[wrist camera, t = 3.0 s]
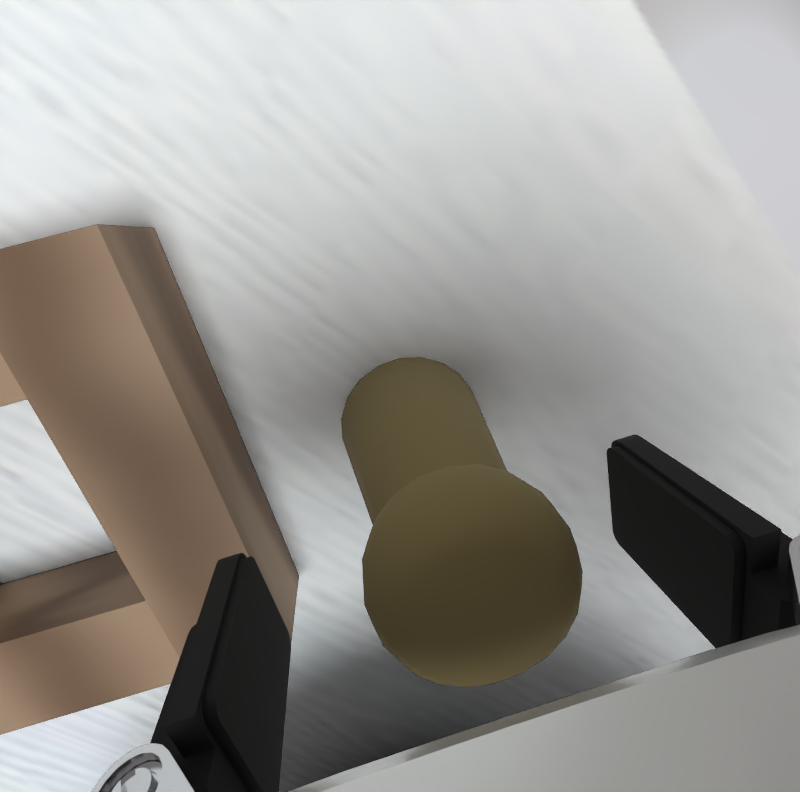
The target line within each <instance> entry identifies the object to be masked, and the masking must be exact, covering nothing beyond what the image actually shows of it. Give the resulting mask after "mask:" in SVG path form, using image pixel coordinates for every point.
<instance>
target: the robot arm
mask: <svg viewBox="0 0 800 792" xmlns="http://www.w3.org/2000/svg"><path fill="white" fill-rule="evenodd" d="M607 462H608V475H609V488H610V501H611V513H612V526H613V533H614V536H615V538H616V540H617V542H618V543H619V545H620V546H621V547H622V548H623V549H624V550H625V551H626V552H627V553H628V554H629V555H630V556H631V558H632V559H633V560H634V561H635V562H636V563H637V564H638V565H639V566H640V567H641V568H642V569H643V570H644V572H645V573H646V574H647V575H648V576H649V577H650V578H651V579H652V580H653V581H654V582H655V583H656V584H657V586H658V587H659V588H660V589H661V590H662V591H663V592H664V593H665V594H666V595H667V596H668V597H669V598H670V600H671V601H672V602H673V603H674V604H675V605H676V606H677V607H678V608H679V609H680V610H681V611H682V612H683V614H684V615H685V616H686V617H687V618H688V619H689V620H690V621H691V622H692V623H693V624H694V625H695V626H696V627H697V629H698V630H699V631H700V632H701V633H702V634H703V635H704V636H705V637H706V638H707V639H708V640H709V641H710V643H711V644H712V645H713V646H714V647H715V648H716V649H713V650H709V651H706V652H703V653H700V654H696V655H693V656H690V657H687V658H684V659H681V660H678V661H675V662H672V663H669V664H666V665H662V666H659V667H656V668H653V669H650V670H647V671H644V672H641V673H638V674H635V675H632V676H629V677H625V678H622V679H619V680H616V681H613V682H610V683H607V684H604V685H601V686H598V687H595V688H592V689H589V690H585V691H582V692H579V693H576V694H573V695H570V696H567V697H564V698H561V699H558V700H555V701H552V702H549V703H546V704H543V705H540V706H537V707H534V708H531V709H528V710H525V711H522V712H519V713H516V714H513V715H510V716H507V717H504V718H501V719H498V720H495V721H492V722H489V723H486V724H483V725H480V726H477V727H474V728H471V729H468V730H465V731H462V732H459V733H456V734H453V735H450V736H447V737H444V738H441V739H438V740H435V741H432V742H429V743H426V744H423V745H420V746H417V747H414V748H411V749H408V750H405V751H402V752H399V753H396V754H393V755H391V756H388V757H385V758H382V759H379V760H376V761H373V762H370V763H367V764H364V765H361V766H358V767H355V768H352V769H349V770H346V771H343V772H340V773H338V774H335V775H332V776H329V777H327V778H324V779H321V780H318V781H315V782H313V783H310V784H307V785H304V786H301V787H299V788H296V789H293V790H290V791H287V792H800V536H797V537H795V538H794V539H791V538H790V537H788V536H787V535H785V534H784V533H782V532H781V529H780V528H778V527H777V526H775V525H774V524H772V523H771V522H769V521H768V520H766V519H765V518H763V517H762V516H760V515H759V514H757V513H755V512H754V511H752V510H751V509H749V508H748V507H746V506H745V505H743V504H742V503H740V502H739V501H737V500H736V499H734V498H733V497H731V496H730V495H728V494H727V493H725V492H724V491H722V490H721V489H719V488H718V487H716V486H715V485H713V484H711V483H710V482H708V481H707V480H705V479H704V478H702V477H701V476H699V475H698V474H696V473H695V472H693V471H692V470H690V469H689V468H687V467H686V466H684V465H683V464H681V463H680V462H678V461H677V460H675V459H674V458H672V457H670V456H669V455H667V454H666V453H664V452H663V451H661V450H660V449H658V448H657V447H655V446H654V445H652V444H651V443H649V442H648V441H646V440H645V439H643V438H642V437H640V436H638V435H632V436H628V437H625V438H622V439H618V440H615V441H613V442H612V447H611V448H609V449H608V450H607ZM290 653H291V640H290V635H289V632H288V630H287V627H286V625H285V623H284V621H283V619H282V617H281V615H280V612H279V610H278V608H277V606H276V604H275V602H274V600H273V597H272V595H271V593H270V591H269V589H268V587H267V585H266V582H265V580H264V578H263V576H262V574H261V572H260V570H259V567H258V565H257V563H256V561H255V559H254V558H253V557H252V556H249V557H246V555H245V554H244V553H239V554H235V555H232V556H229V557H225V558H222V559H219V560H218V562H217V564H216V567H215V570H214V573H213V576H212V579H211V582H210V585H209V588H208V591H207V594H206V597H205V600H204V603H203V606H202V609H201V612H200V615H199V618H198V621H197V624H196V625H194V626H193V627H192V628H191V629H190V631H189V633H188V636H187V639H186V641H185V644H184V647H183V650H182V653H181V656H180V659H179V662H178V665H177V668H176V670H175V673H174V676H173V679H172V682H171V685H170V688H169V691H168V694H167V696H166V699H165V702H164V705H163V708H162V711H161V714H160V717H159V720H158V723H157V725H156V728H155V731H154V734H153V737H152V740H151V743H150V744H146V745H142V746H139V747H138V748H136V749H134V750H132V751H130V752H128V753H127V754H125V755H124V756H123V757H122V758H120V759H119V760H118V761H116V762H115V763H114V764H113V765H112V766H111V767H110V768H109V769H108V770H107V771H106V773H105V774H104V775H103V776H102V777H101V778H100V780H99V781H98V783H97V784H96V785H95V787H94V788H93V790H92V791H91V792H278V791H279V779H280V768H281V756H282V745H283V733H284V722H285V711H286V699H287V688H288V676H289V665H290Z"/></svg>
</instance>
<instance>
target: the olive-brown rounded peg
mask: <svg viewBox="0 0 800 792" xmlns="http://www.w3.org/2000/svg"><path fill="white" fill-rule="evenodd" d="M341 421H342V438H343V442H344V444H345V447H346V450H347V453H348V456H349V459H350V461H351V464H352V467H353V470H354V473H355V476H356V478H357V481H358V484H359V487H360V490H361V493H362V495H363V498H364V501H365V504H366V507H367V510H368V512H369V515H370V518H371V521H372V524H373V527H372V530H371V533H370V536H369V539H368V542H367V545H366V548H365V552H364V555H363V558H362V565H363V584H364V603H365V607H366V609H367V612H368V614H369V617H370V619H371V621H372V623H373V626H374V628H375V630H376V632H377V634H378V636H379V638H380V640H381V642H382V644H383V646H384V647H385V648H386V649H387V650H388V651H389V652H391V653H392V654H393V655H394V656H395V657H396V658H397V659H398V660H399V661H400V662H401V663H403V664H404V665H405V666H406V667H407V668H408V669H409V670H410V671H411V672H413V673H414V674H415V675H417V676H420V677H422V678H425V679H427V680H430V681H432V682H434V683H437V684H441V685H450V686H459V687H472V686H479V685H486V684H494V683H497V682H500V681H502V680H505V679H508V678H510V677H513V676H516V675H518V674H521V673H523V672H525V671H526V670H528V669H529V668H531V667H532V666H534V665H535V664H537V663H538V662H540V661H541V660H543V659H544V658H546V657H547V656H548V655H549V654H550V653H551V652H552V651H553V650H554V649H555V648H556V647H557V645H558V644H559V643H560V642H561V641H562V640H563V639H564V638H565V637H566V635H567V633H568V631H569V629H570V627H571V625H572V623H573V622H574V620H575V618H576V616H577V614H578V608H579V601H580V595H581V587H582V567H581V563H580V559H579V555H578V550H577V546H576V543H575V541H574V538H573V535H572V533H571V530H570V528H569V526H568V525H567V524H566V522H565V521H564V520H563V518H562V517H561V516H560V514H559V513H558V512H557V510H556V509H555V508H554V506H553V505H552V504H551V503H550V501H549V500H548V499H547V498H546V497H545V495H544V494H543V493H542V492H540V491H539V490H537V489H536V488H534V487H532V486H531V485H529V484H527V483H526V482H524V481H523V480H521V479H519V478H518V477H516V476H514V475H513V474H511V473H509V472H508V471H507V470H506V467H505V465H504V463H503V460H502V458H501V456H500V454H499V451H498V449H497V447H496V445H495V442H494V440H493V438H492V435H491V433H490V431H489V429H488V426H487V424H486V422H485V420H484V417H483V415H482V413H481V410H480V408H479V406H478V404H477V401H476V399H475V397H474V395H473V392H472V391H471V389H470V388H469V386H468V385H467V384H466V382H465V381H464V380H463V378H462V377H461V376H460V375H459V374H458V373H456V372H455V371H453V370H452V369H450V368H449V367H447V366H446V365H445V364H443V363H440V362H436V361H432V360H429V359H425V358H401V359H397V360H394V361H391V362H388V363H386V364H383V365H380V366H378V367H376V368H375V369H374V370H372V371H371V372H370V373H368V374H367V375H366V376H365V377H363V378H362V379H361V380H359V382H358V383H357V385H356V386H355V388H354V389H353V391H352V392H351V394H350V395H349V396H348V398H347V401H346V404H345V408H344V411H343V415H342V418H341Z"/></svg>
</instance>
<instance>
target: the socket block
mask: <svg viewBox="0 0 800 792" xmlns="http://www.w3.org/2000/svg"><path fill="white" fill-rule="evenodd" d="M27 399H28V401H29V403H30V404H31V406H32V408H33V409H34V411H35V413H36V415H37V416H38V418H39V420H40V421H41V423H42V425H43V426H44V428H45V430H46V432H47V433H48V435H49V437H50V438H51V440H52V442H53V443H54V445H55V447H56V449H57V450H58V452H59V454H60V455H61V457H62V459H63V460H64V462H65V464H66V466H67V467H68V469H69V471H70V472H71V474H72V476H73V478H74V479H75V481H76V483H77V484H78V486H79V488H80V489H81V491H82V493H83V495H84V496H85V498H86V500H87V501H88V503H89V505H90V506H91V508H92V510H93V512H94V513H95V515H96V517H97V518H98V520H99V522H100V523H101V525H102V527H103V529H104V530H105V532H106V534H107V535H108V537H109V539H110V541H111V542H112V544H113V546H114V547H115V549H116V552H113V553H109V554H106V555H102V556H99V557H95V558H92V559H88V560H85V561H81V562H78V563H74V564H71V565H67V566H64V567H60V568H57V569H53V570H50V571H46V572H43V573H40V574H36V575H33V576H29V577H26V578H22V579H19V580H15V581H12V582H8V583H5V584H1V583H0V735H1V734H4V733H8V732H11V731H14V730H18V729H21V728H24V727H28V726H31V725H34V724H37V723H41V722H44V721H47V720H51V719H54V718H57V717H61V716H64V715H67V714H71V713H74V712H77V711H81V710H84V709H87V708H91V707H94V706H97V705H101V704H104V703H107V702H111V701H114V700H117V699H121V698H124V697H127V696H131V695H134V694H137V693H141V692H144V691H147V690H151V689H154V688H157V687H161V686H164V685H167V684H171V682H172V679H173V676H174V673H175V670H176V668H177V665H178V662H179V659H180V656H181V653H182V650H183V647H184V644H185V641H186V639H187V636H188V633H189V631H190V629H191V628H192V627H193V626H194V625H196V624H197V621H198V618H199V615H200V612H201V609H202V606H203V603H204V600H205V597H206V594H207V591H208V588H209V585H210V582H211V579H212V576H213V573H214V570H215V567H216V564H217V562H218V560H219V559H222V558H225V557H229V556H232V555H235V554H239V553H244V554H245V555H246V557H249V556H252V557H253V558H254V559H255V561H256V563H257V565H258V567H259V570H260V572H261V574H262V576H263V578H264V580H265V582H266V585H267V587H268V589H269V591H270V593H271V595H272V597H273V600H274V602H275V604H276V606H277V608H278V610H279V612H280V615H281V617H282V619H283V621H284V623H285V625H286V627H287V630H288V632H289V635H290V640H292V631H293V623H294V614H295V605H296V596H297V588H298V579H299V575H298V573H297V570H296V568H295V565H294V563H293V561H292V558H291V556H290V553H289V551H288V549H287V546H286V544H285V541H284V539H283V537H282V534H281V532H280V529H279V527H278V525H277V522H276V520H275V517H274V515H273V513H272V510H271V508H270V505H269V503H268V501H267V498H266V496H265V493H264V491H263V489H262V486H261V484H260V481H259V479H258V477H257V474H256V472H255V469H254V467H253V465H252V462H251V460H250V457H249V455H248V453H247V450H246V448H245V445H244V443H243V441H242V438H241V436H240V433H239V431H238V429H237V426H236V424H235V421H234V419H233V417H232V414H231V412H230V409H229V407H228V405H227V402H226V400H225V397H224V395H223V393H222V390H221V388H220V385H219V383H218V381H217V378H216V376H215V373H214V371H213V369H212V366H211V364H210V361H209V359H208V357H207V354H206V352H205V349H204V347H203V345H202V342H201V340H200V337H199V335H198V333H197V330H196V328H195V325H194V323H193V321H192V318H191V316H190V313H189V311H188V309H187V306H186V304H185V301H184V299H183V297H182V294H181V292H180V289H179V287H178V285H177V282H176V280H175V277H174V275H173V273H172V270H171V268H170V265H169V263H168V261H167V258H166V256H165V253H164V251H163V249H162V246H161V244H160V241H159V239H158V237H157V234H156V232H155V229H154V228H148V227H132V226H115V225H99V224H96V225H92V226H89V227H85V228H81V229H77V230H73V231H69V232H65V233H61V234H58V235H54V236H50V237H46V238H42V239H38V240H34V241H30V242H26V243H23V244H19V245H15V246H11V247H7V248H3V249H0V407H1V406H5V405H8V404H12V403H16V402H19V401H23V400H27Z"/></svg>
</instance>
